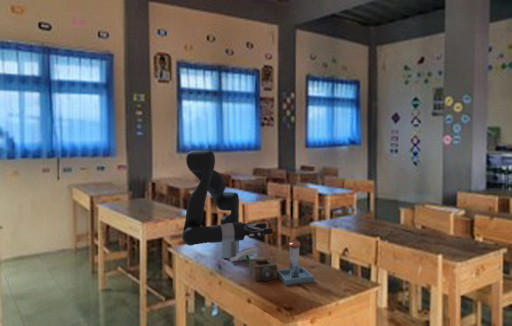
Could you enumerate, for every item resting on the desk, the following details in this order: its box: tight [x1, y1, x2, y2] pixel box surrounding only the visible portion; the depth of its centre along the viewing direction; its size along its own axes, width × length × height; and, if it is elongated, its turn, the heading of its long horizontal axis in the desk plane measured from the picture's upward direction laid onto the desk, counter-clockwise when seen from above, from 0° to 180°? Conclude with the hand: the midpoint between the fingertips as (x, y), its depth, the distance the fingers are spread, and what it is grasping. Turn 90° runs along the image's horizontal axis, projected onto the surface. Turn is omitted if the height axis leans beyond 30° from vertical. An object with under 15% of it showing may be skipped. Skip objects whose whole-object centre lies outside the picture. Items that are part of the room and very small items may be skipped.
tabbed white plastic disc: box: [228, 246, 258, 264], centre depth 201 cm, size 15×8×11 cm
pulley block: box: [248, 257, 278, 282], centre depth 181 cm, size 12×10×6 cm
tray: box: [277, 266, 315, 287], centre depth 177 cm, size 13×13×2 cm
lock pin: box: [288, 240, 301, 279], centre depth 177 cm, size 5×5×15 cm
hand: (269, 228), depth 173 cm, fingers open, 8 cm apart
